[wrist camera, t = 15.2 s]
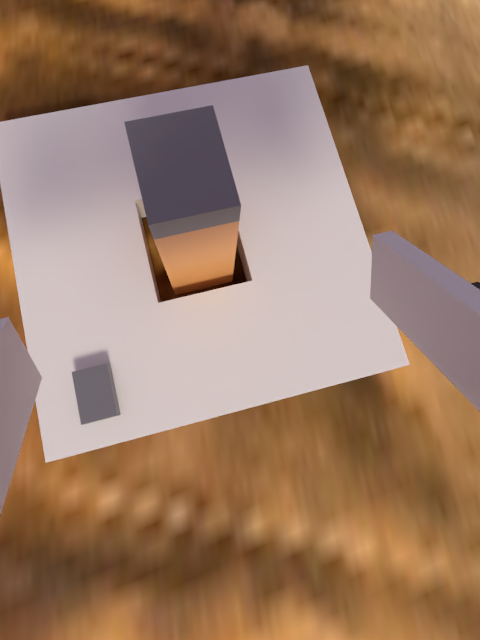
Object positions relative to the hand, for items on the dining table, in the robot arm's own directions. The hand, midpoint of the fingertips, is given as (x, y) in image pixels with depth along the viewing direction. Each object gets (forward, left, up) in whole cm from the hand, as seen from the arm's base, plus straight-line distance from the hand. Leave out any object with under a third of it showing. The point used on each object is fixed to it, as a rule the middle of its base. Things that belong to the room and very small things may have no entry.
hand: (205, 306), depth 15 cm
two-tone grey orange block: (-6, -3, -12) cm, 14 cm away
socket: (-6, -3, -12) cm, 14 cm away
